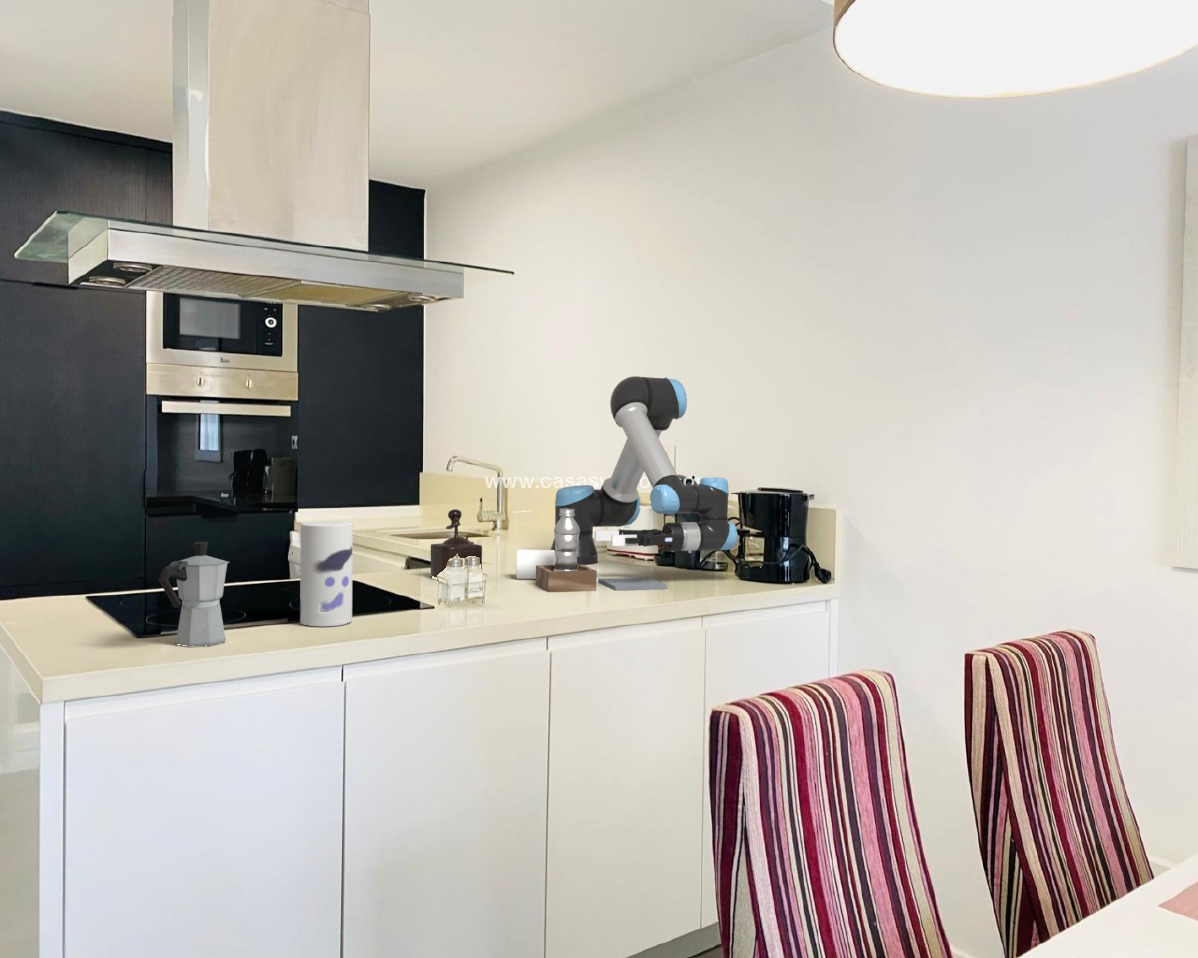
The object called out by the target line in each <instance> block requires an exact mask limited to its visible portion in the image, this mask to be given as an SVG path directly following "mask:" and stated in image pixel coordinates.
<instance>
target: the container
mask: <svg viewBox="0 0 1198 958" xmlns="http://www.w3.org/2000/svg"><path fill="white" fill-rule="evenodd" d="M353 525H354V524H353V523H352V522H348V521H332V520H331V521H329V520H328V521H327V520H326V521H322V520H321V521H308V522H302V523H300V573H299V574H300V575H299V577H300V578H299V579H300V582H299V583H300V584H299V586H300V588H299V590H300V591H299V592H300V593H299V597H300V598H299V599H300V600H299V601H300V602H299V618H300V619H299V624H301V625H304V626H307V625H308V626H309V627H337V626H344V625H347V623H348V624H350V623H352V622H351V621H353V553H354V552H353V550H354V549H353V546H354V545H353V544H354V543H353V542H354V540H353V536H354V534H353V530H354V526H353ZM349 622H350V623H349Z"/></svg>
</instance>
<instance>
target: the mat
mask: <svg viewBox="0 0 1198 958" xmlns="http://www.w3.org/2000/svg"><path fill="white" fill-rule="evenodd" d="M597 583H598V584H601V585H603V586H605V587H606V588H609V589H611V590H613V591H639V590H642V591H643V590H645V591H648V590H667V589H668V584H666V583H663V582H661V581H658V580H656V579H653V578H651V577H648V576H647V577H646V576H645V577H644V576H643V577H617V578H616V577H615V578H613V577H611V578H609V577H607V578H598V582H597Z"/></svg>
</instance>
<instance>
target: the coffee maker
mask: <svg viewBox="0 0 1198 958" xmlns="http://www.w3.org/2000/svg"><path fill="white" fill-rule="evenodd" d="M208 544H209V542H208V541H205V542H204V541H199V542H197V541H196V542H193V546H194V552H195V555H193V556H190V557H188V558H184V559H181V560H175V561H172V562H170V564H169V565H167V566H165V567H164V568H162V571H161V573H160V575H159V579H158V582H159V584H160V586H161V587H162V589H163V591H164V592H165V594H166V596H167V597H168V599H169V601H170V602H171V605H172V606H173V608H175V609H178V608H179V607H180V605H181V608H180V616H179V622H178V628H177V633H176V639H175V640H176V641H175V644H176V643H177V644H181V645H187V646H205V645H207V646H208V647H212V646H211V645H214V646H216V645H215V644H218V645H220V644H219V643H222V644H225V643H226V634H225V626H224V621H223V614H222V608H221V604H220V599H221V598H222V597H223V595H224V588H225V581H226V573H227V568H228V564H229V563H230V561H227V560H223V559H219V558H218V557H217V558H216V557H212V556H209V555H207V549H208ZM170 578H172V579H174V580H176V584H177V593H178V595H177V593H176V591H175V590H174V588H173V586H172V585H171V583H170V581H169V579H170Z"/></svg>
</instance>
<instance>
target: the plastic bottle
mask: <svg viewBox="0 0 1198 958" xmlns="http://www.w3.org/2000/svg"><path fill="white" fill-rule="evenodd" d="M559 516H561V517H560V520H559V521H558V522H557V524H556V525H555V524H554V528H553V533H554V538H555V549H556V557H555V566H554V571H576V570H578V569H577V546H578V539H579V533H580V529H579V526H578V524H577V523H576V521H575V520H574V516H575V514H574V509H560V514H559Z"/></svg>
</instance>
